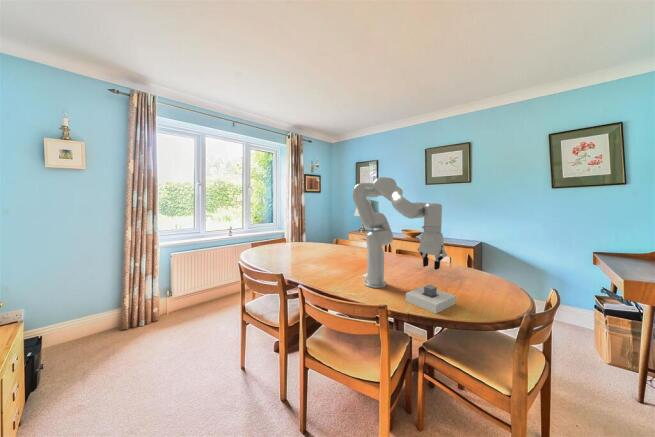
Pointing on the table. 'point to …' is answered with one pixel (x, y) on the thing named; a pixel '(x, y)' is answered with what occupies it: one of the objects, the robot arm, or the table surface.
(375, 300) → the table surface
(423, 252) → the robot arm
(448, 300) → the socket housing
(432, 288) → the plug
